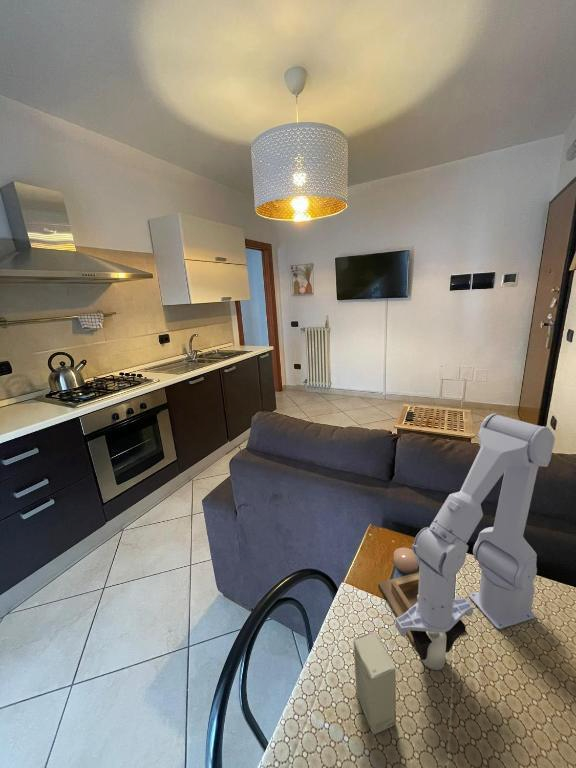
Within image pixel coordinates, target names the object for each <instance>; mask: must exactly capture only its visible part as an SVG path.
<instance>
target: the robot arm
mask: <svg viewBox="0 0 576 768" xmlns="http://www.w3.org/2000/svg"><path fill="white" fill-rule="evenodd" d="M477 437H478V438H477V440H478V445H479V447H480V448H479V450H478V452H477V455H476V456H475V458H474V461H473V463H472V465H471V467H470V469H469V471H468V474H467V476H466V477H465V479H464V482H463V484H462V486H461V488H460V491H457V492H453V493H450V494H449V495H448V496H447V498H446V499H445V501H444V503H443V504H442V506H441V508H440V509H439V511H438V512H437V514H436V516H435V518H434V519H433V521H432V522H431V524H430V526H427V527H423V528H422V529H420V531H419V532H418V533H417V534H416V536H415V538H414V542H413V544H412V546H411V548H412V549H411V550H413V553H414V554H415V555H416V557H417V560H416V562H417V563H418V564H419V566H418V572H419V586H418V595H417V599H418V602H417V603H416V604H415V605H414V606H412V607H411V608H410V609H409V610H408V611H407V612H406V613H404V614H403V615H402V616H400V617H395V628H396V630H397V631H398V633H399V635H400V637H405V636H407V634H406V633H407V631H408V630H410V632H411V634H412V637H413V640H414V643H415V645H414V648H415V650H416V652H417V654H418V656H419V657H420V660H421V661H422V660H425V659H426V657H427V650H428V647H429V645H430V643H432V641H431V639H430V638H429V636H428V635H427V633H426V631H428V632H445V633H446V636H447V639H446V653H449V652H450V651H451V649H452V648H453V646H454V643H455V642H456V640H458V638H459V637H460V636H461V635H462V634H464V633H466V629H467V628H466V624H465V623H464V622H463V620H462V618H463V617H464V616H466V617H470V616H473V606H472V605H471V603H470V602H469V601H468V600H467V599H466V598H465V597H462V598H455V590H456V589H455V588H456V577H457V574H458V573H459V572H460V571H461V570H462V568H463V566H464V564H465V561H466V557H467V552H468V550H469V548H470V547H469V545H468V544H467V543H468V541H469V540H470V538H471V536H472V535H473V533H474V532H475V530H476V529H477V526H478V525H479V523H480V522H481V520H482V518H483V516H484V513H483V510H482V505H481V504H482V503H483V502H484V500H485V499H486V497H487V496H488V495H489V493H490V492H491V491H492V489H493V487H495V485H496V484H497V482H498V481H499V480H500V478H501V477H502V476H503V478H502V481H501V482H502V484H501V489H500V492H499V493H500V494H499V498H498V502H497V506H496V507H497V508H496V513H495V517H494V521H493V522H494V523H493V526H489V527H485V528H483V529H482V530H481V531H480V532H479V533H478V537H477V540H476V541H475V542H474V543H475V544H473V549H472V554H473V558H474V560H476V561H477V562H478V568H480V569H481V571H480V572H481V573H480V582H479V588H478V589H479V590H478V591H476V592H472V593H469V594H468V598H470V601H472V602H473V603H474V604H475V605H476V606H477V608H478V609H479V610H480V612H482V614H483V615H484V616H485V617H486V618H487V619H488V620H489V621H490V623H491V624H492V625H493V626H494V627H495V629H496V630H497V629H498V630H501V629H502V630H503V629H504V628H507V627H510V626H511V627H512V626H514V625H518V624H521V623H524V622H527V621H530V620H533V619H536V615H535V614H534V613H533V612H532V608H533V603H534V596H535V586H534V581H535V579H536V577H537V573H538V568H537V560H538V559H537V556H538V554H537V553H536V551H535V550H534V549H533V547H532V546H531V545H530V544H529V542H528V541H527V540H526V539H525V537H524V533H525V529H526V524H527V520H528V516H529V510H530V508H531V507H530V506H531V502H532V496H533V492H534V487H535V483H536V480H537V479H536V478H537V474H538V469H539V467H548V466H549V463H550V462H551V459H552V454H553V450H554V445H555V440H556V439H555V435H554V434H553V431H552V430H551V429H550V428H549V427H547V426H543V425H542V426H541V425H537V424H534V423H530V422H525V421H523V420H518V419H514V418H511V417H507V416H504V415H500V414H498V413H490V414H489V415H487V416H486V417H485V418H484V419H483V420H482V422H481V424H480V427H479V431H478V436H477ZM464 624H465V625H464ZM446 653H445V654H446Z"/></svg>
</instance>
